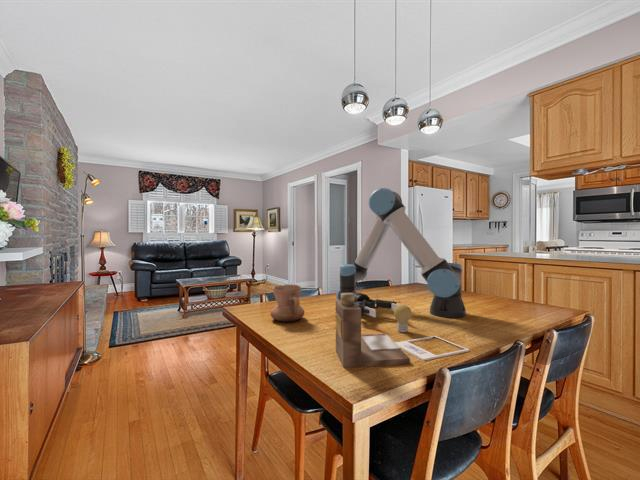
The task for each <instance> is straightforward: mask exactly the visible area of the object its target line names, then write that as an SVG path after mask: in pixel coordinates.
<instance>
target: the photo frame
mask: <svg viewBox="0 0 640 480" xmlns="http://www.w3.org/2000/svg"><path fill="white" fill-rule="evenodd" d="M433 338H437V339H439V340H441V341H443V342H446V343H448V344H451V345H453V346H455V347H458V348H459V349H460V350H455V351H451V352H446V353H440V354H437V355H436V354H434V353H433V352H430V351H428V350H426V349H424V348H422V347H420V346H418V345H415V344H413V343H412V342H414V343H415V342H419V341H424V340H429V339H433ZM395 343H396V344H397V345H398V346H399V347H400V348H401V350H402V351H403V352H406V353H408V354H409V355H412V356H414V357H415V358H416V359H417V358H418V359H420V360H421V361H422V362H425V360H426V361H429V360H434V359H438V358H443V357H448V356H453V355H458V354H463V353H468V352H470V349H469V348H466V347H465V346H464V347H463V346H462V345H459V344H456V343H454V342H451V341H448V340H447V339H444V338H441V337H439V336H436V335H430V336H426V337H418V338H415V339H414V338H413V339H408V340H401V341H396V342H395Z"/></svg>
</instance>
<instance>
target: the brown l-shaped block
mask: <svg viewBox="0 0 640 480" xmlns="http://www.w3.org/2000/svg"><path fill="white" fill-rule="evenodd" d="M335 352H336V353H335V354H336V355H337V357H338V359H339V361H340V364H341V366H342V368H343V369H345V368H347V369H348V368H361V367H365V368H366V367H381V366H394V365H410V364H411V358H410V357H409V356H408V355H407V354H406V353H405V351H404V350H402V349H401V348H400V347H399V346H398V345H397V344H396V342H395V341H394V340H393V339H392V338H391V337H390V336H389V335H387V334H385V333H372V334H369V333H368V334H362V315H361V308H360V307H359V306H358V305H356V304H355V303H354V293H341V300H337V299H335Z"/></svg>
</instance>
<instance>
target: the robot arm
mask: <svg viewBox="0 0 640 480" xmlns="http://www.w3.org/2000/svg"><path fill="white" fill-rule="evenodd" d="M368 206H369V209H370V210H371V212H372V213H374V214H375V216H376V219H375V220H374V222H373V224H372V227H371V229H370V230H369V233H368V235H367V236H366V239H365V240H364V242H363V245H362V247H361V249H360V251H359V252H358V254H357V257H356V259H355V261H354V262H353V264H348V263H346V264H341V265H340V266H339V289H338V290H337V292H336V294H335V298H336V300H341V293H354V303H355V304H356V305H358V306H359V307H360V308H361V316H364V315H368V316H370V317H373V318H376V317H377V309H378V308H380V309H391V311H394V309H395V307H396V306H398V305H399V304H398V303H397V301H394V300H392V301H391V300H383V299H378V298H375V299H372V298H370V296H369V295H367V294H365V293H362V292H359V291H356V288H357V286H356V285H357V282H360V281H363V280H364V279H365V278H366V277H367V275H368V269H369V267H370V265H371V263H372V262H373V259H374V258H375V255H376V254H377V252H378V250H379V247H380V246H381V244H382V243H383V240H384V238H385V236H386V234H387V232H388V230H389V229H390V228H391V229H392V231H393V232H394V233H395V235H396V236H397V237H398V239H399V241H401V243H402V244H403V246H404V247H405V248H406V249H407V251H408V253H409V254H410V255H411V256H412V258H413V259H414V261H415V262H416V263H417V265H418V266H419V267H420V268H421V271H420V274H421V276H422V278H423V279H424V281H425V282H426V285H427V288H428V290H429V291H430V293H432V295H433V298H432V300H431V303H430V307H429V313H430V314H432V315H433V316H436V317H441V318H451V319H452V318H453V319H455V318H464V317H466V316H467V310H466V307H465V304H464V301H463V298H462V295H463V293H462V291H463V290H462V289H463V287H462V284H463V283H462V281H463V280H462V278H463V277H462V275H463V268H462V265H461V263H456V262H448V261H447V260H446V258H444V257H439V256H438V254H437V253H436V251H435V250H434V249H433V247H432V246H431V244H429V242H428V240H426V238H425V237H424V236H423V235H422V233H421V232H420V230H419V229H418V228H417V226H416V225H415V224H414V223H413V221H412V220H411V219H410V218H409V216H408V215H407V213H406V206H405V205H404V203H403V199H402V197H401V196H400V194H399V193H397V192H395V191H394V190H391V189H390V188H387V187H380V188H377V189H375V190H373V192H372V193H371V195H370V196H369V199H368Z"/></svg>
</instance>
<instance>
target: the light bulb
mask: <svg viewBox="0 0 640 480" xmlns="http://www.w3.org/2000/svg"><path fill="white" fill-rule="evenodd" d="M412 315H413V313H412V309H411V307H410V306H408V305H406V304H398V306H396V307H395V309H394V310H393V316H394V318H395V320H396V321H397V323H396V324H397V326H396V327H397V332H399V333H407V332H408V330H409V329H408V327H409V324H408V322H409V321H410V319H411V318H412Z"/></svg>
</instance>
